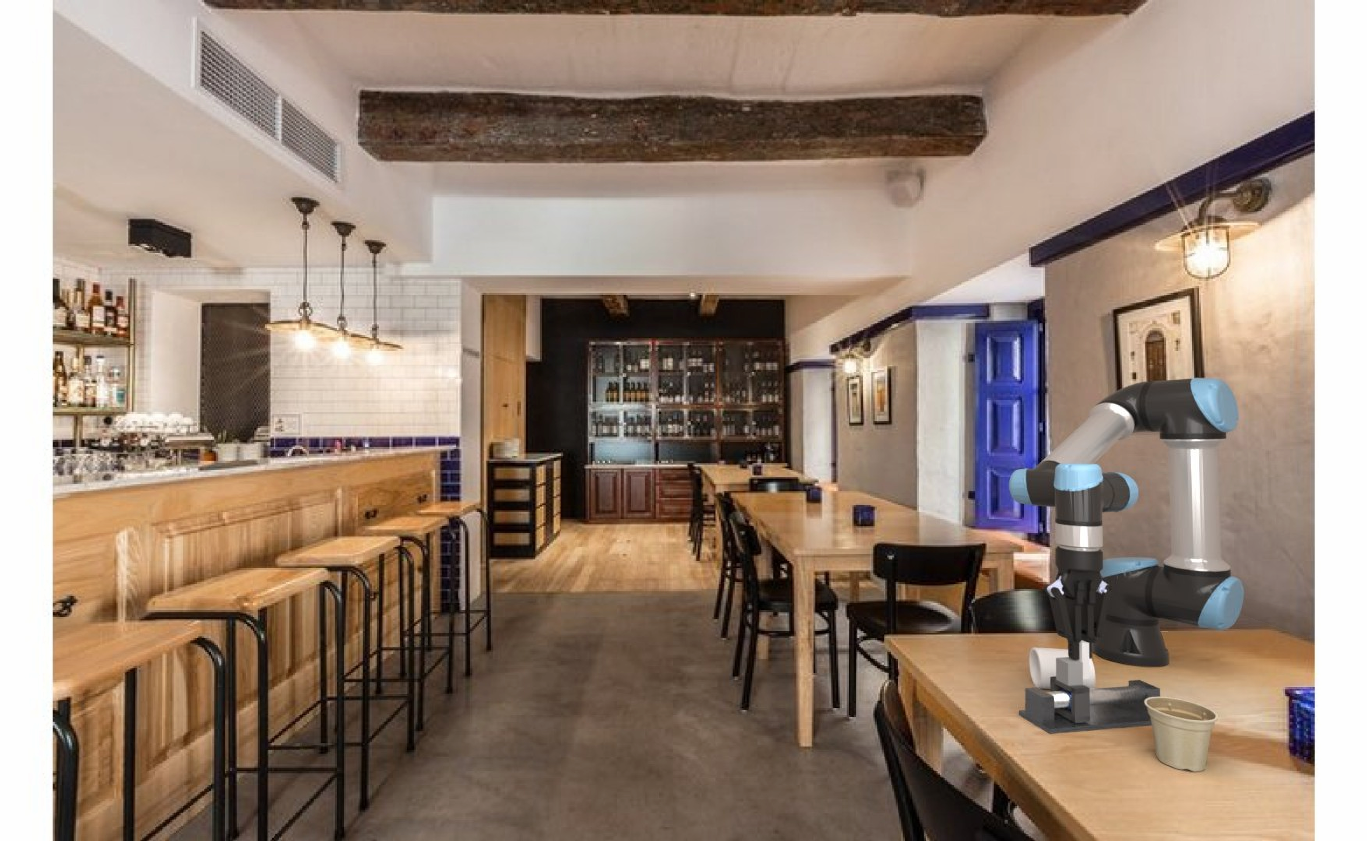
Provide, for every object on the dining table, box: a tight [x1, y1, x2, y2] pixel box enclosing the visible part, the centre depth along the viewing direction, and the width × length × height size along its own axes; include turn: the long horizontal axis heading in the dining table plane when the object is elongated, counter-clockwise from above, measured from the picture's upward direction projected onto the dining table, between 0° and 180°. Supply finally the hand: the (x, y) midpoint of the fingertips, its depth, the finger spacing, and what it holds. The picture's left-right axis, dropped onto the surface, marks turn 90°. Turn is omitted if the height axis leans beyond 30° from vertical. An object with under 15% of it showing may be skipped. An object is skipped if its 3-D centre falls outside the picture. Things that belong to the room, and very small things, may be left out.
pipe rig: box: [1018, 679, 1161, 735], centre depth 121 cm, size 24×8×6 cm, turn 100°
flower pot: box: [1144, 696, 1219, 773], centre depth 105 cm, size 9×9×9 cm
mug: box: [1028, 646, 1096, 690], centre depth 137 cm, size 12×10×8 cm
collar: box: [1049, 657, 1090, 723], centre depth 120 cm, size 3×6×10 cm, turn 10°
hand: (1080, 676), depth 120 cm, fingers closed
